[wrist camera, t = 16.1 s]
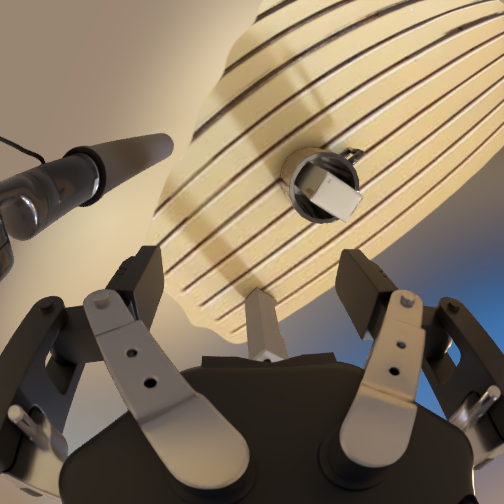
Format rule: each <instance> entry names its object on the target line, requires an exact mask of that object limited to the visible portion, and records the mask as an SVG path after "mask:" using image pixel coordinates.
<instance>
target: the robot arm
mask: <svg viewBox="0 0 504 504" xmlns="http://www.w3.org/2000/svg"><path fill="white" fill-rule="evenodd" d="M0 141H1V142H3V143H5V144H7V145H10V146H12V147H14V148H16V149H17V150H19V151H21V152H23V153H25V154H27V155H29V156H32V157H35V158H36V159H38V160H39V161H40V162H41V165H40V166H38V167H35V168H32V169H30V170H27V171H24V172H22V173H19V174H16V175H14V176H12V177H9V178H7V179H5V180H3V181H0V282H1V281H2V280H3V279H4V278H5V277H6V276H7V274H8V273H9V272H10V270H11V268H12V266H13V263H14V256H13V251H12V247H11V244H10V241H9V238H8V235H10V236H11V237H12V238H14V239H17V240H20V241H25V240H29V239H31V238H33V237H34V236H36V235H37V234H38V233H40V232H41V231H42V230H44V229H45V228H46V227H48V226H49V225H50V224H52V223H53V222H55V221H56V220H58V219H59V218H60V217H62V216H63V215H65V214H66V213H68V212H69V211H71V210H72V209H73V208H75V207H77V206H78V205H80V204H82V203H83V202H85V201H87V200H89V199H90V198H92V197H93V196H94V195H95V194H96V192H97V190H98V188H99V185H100V170H99V167H98V165H97V163H96V161H95V160H94V159H93V158H92V157H91V156H89V155H87V154H84V153H77V154H73V155H71V156H68V157H65V158H62V159H59V160H55V161H53V162H49V163H45V160H44V158H43V157H42V156H41V155H39V154H37V153H35V152H32V151H30V150H27V149H25V148H23V147H22V146H20V145H18V144H16V143H14V142H12V141H10V140H7V139H5V138H3V137H1V136H0ZM335 287H336V292H337V294H338V296H339V298H340V300H341V302H342V303H343V305H344V307H345V309H346V311H347V313H348V314H349V316H350V318H351V320H352V322H353V324H354V326H355V328H356V330H357V332H358V334H359V336H360V338H361V339H362V340H370V339H373V340H374V342H373V345H372V347H371V349H370V352H369V355H368V357H367V360H366V362H365V364H364V367H363V369H361V368H360V367H357V366H354V365H352V364H348V363H343V362H337V361H336V358H335V356H334V353H333V352H331V353H320V354H307V355H301V356H296V357H293V358H289V359H285V360H281V361H277V362H262V361H256V360H251V359H245V358H240V357H215V356H202V365H201V366H198V367H193V368H190V369H186V370H184V371H181V372H179V371H178V370H177V368H176V367H175V366H174V365H173V363H172V362H171V361H170V359H169V358H168V357H167V355H166V354H165V353H164V351H163V350H162V349H161V347H160V346H159V345H158V343H157V342H156V340H155V339H154V338H153V336H152V335H151V333H150V332H149V331H150V327H151V325H152V322H153V319H154V316H155V313H156V310H157V307H158V304H159V302H160V299H161V296H162V293H163V289H164V274H163V266H162V257H161V249H160V247H159V246H142V247H141V249H140V250H139V252H138V253H137V254H136V256H131V257H130V258H128V259H126V260H125V261H123V262H122V264H121V265H120V267H119V270H117V271H116V273H115V275H114V276H113V277H112V279H111V280H110V282H109V283H108V285H107V286H106V288H105V289H102V290H98V291H95V292H93V293H91V294H89V295H88V296H87V297H86V298H85V299H84V301H83V305H82V306H75V307H68V308H65V305H64V302H63V300H62V299H61V298H60V297H57V296H49V297H45V298H43V299H41V300H39V301H38V302H37V303H36V304H34V306H33V307H32V308H31V310H30V311H29V313H28V314H27V315H26V317H25V318H24V319H23V321H22V322H21V324H20V325H19V327H18V328H17V330H16V331H15V333H14V334H13V336H12V338H11V339H10V340H9V342H8V344H7V345H6V347H5V349H4V350H3V352H2V353H1V355H0V477H1V478H2V479H4V480H5V481H7V482H8V483H10V484H11V485H13V486H15V487H17V488H19V489H21V490H23V491H24V492H26V493H28V494H29V495H32V496H37V497H38V496H43V495H44V496H47V497H49V498H52V499H54V500H57V501H59V502H62V504H479V503H478V501H477V499H476V496H475V491H474V481H473V470H480V469H482V468H483V467H485V466H486V465H487V464H488V463H490V462H491V461H493V460H494V459H495V458H496V457H497V456H499V455H500V454H501V453H503V452H504V354H503V353H502V352H501V350H500V349H499V348H498V346H497V345H496V344H495V342H494V341H493V340H492V339H491V337H490V336H489V335H488V333H487V332H486V331H485V330H484V328H483V327H482V326H481V325H480V324H479V322H478V321H477V320H476V319H475V318H474V316H473V315H472V314H471V313H470V312H469V310H468V309H467V308H466V307H465V306H464V305H463V304H462V303H461V302H459V301H458V300H456V299H453V298H450V297H443V298H441V299H440V301H439V303H438V306H437V308H435V307H429V306H423V301H422V300H421V299H420V298H419V297H418V296H417V295H416V294H414V293H412V292H409V291H405V290H399V289H398V288H397V287H396V286H395V285H394V283H393V282H392V281H391V280H390V279H389V278H387V275H386V274H385V273H383V270H382V269H381V268H380V267H379V266H378V265H377V264H375V263H374V262H372V261H370V260H369V259H368V258H367V257H366V256H365V255H364V254H363V253H362V252H361V250H359V249H344V250H343V251H342V253H341V257H340V262H339V267H338V271H337V276H336V282H335ZM453 341H454V343H455V344H456V346H457V347H458V349H459V350H460V353H461V359H460V362H459V364H458V365H457V367H456V366H455V364H454V362H453V361H452V359H451V357H450V356H449V354H448V353H447V351H448V349H449V347H450V345H451V344H452V342H453ZM49 351H50V353H51V355H52V356H51V358H50V360H49V362H48V364H47V366H46V368H45V360H46V357H47V355H48V353H49ZM97 361H104V362H105V364H106V367H107V369H108V371H109V373H110V375H111V377H112V379H113V381H114V383H115V385H116V388H117V389H118V391H119V393H120V395H121V397H122V399H123V401H124V403H125V405H126V407H127V409H128V411H127V412H126V413H124V414H123V415H122V416H120V417H119V418H118V419H117V420H115V421H114V422H113V423H111V424H110V425H109V426H108V427H106V428H105V429H103V430H102V431H101V432H99V433H98V434H97V435H95V436H94V437H93V438H91V439H90V440H89V441H87V442H86V443H85V444H83V445H82V446H81V447H79V448H78V449H76V450H75V451H74V452H73V453H71V454H70V456H68V445H67V442H66V439H65V438H64V436H63V435H62V433H63V429H64V426H65V422H66V419H67V416H68V412H69V409H70V406H71V403H72V400H73V397H74V394H75V391H76V388H77V385H78V382H79V380H80V377H81V374H82V371H83V369H84V366H85V363H88V362H97ZM421 368H422V370H423V372H424V374H425V376H426V378H427V380H428V382H429V384H430V385H431V387H432V389H433V391H434V393H435V396H436V398H437V400H438V402H439V404H440V406H441V408H442V410H443V412H444V414H445V416H446V418H447V420H445V419H443V418H441V417H440V416H438V415H436V414H435V413H433V412H431V411H430V410H428V409H426V408H425V407H423V406H421V405H420V404H418V403H417V402H415V398H416V393H417V388H418V383H419V376H420V372H421Z"/></svg>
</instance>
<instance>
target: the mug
mask: <svg viewBox="0 0 504 504" xmlns="http://www.w3.org/2000/svg"><path fill="white" fill-rule="evenodd" d="M350 154H352V155H353V156H352V157H351V158H349V159H348V160H347V159H345V158H346V157H348V156H349V155H350ZM364 155H365V153H364V151H363V150H359V149H356V148H352V147H348V148H347V149H345V150H344V151H343V152H342V153H341V154H336V153H333V152H330V151H327V150H324V149H320V148H316V147H306V148H302V149H299V150H297V151H295V152H294V153H292V154H291V155H290V156H289V157H288V158H287V159H286V161H285V163H284V164H283V167H282V170H281V175H280V181H281V186H282V189H283V192H284V193H285V195H286V197H287V198H288V200H289V201H290V203H291V204H292V206H293V207H294V209H295V210H296V211H297V212H298V213H299V214H300V215H301V216H302V217H303V218H305V219H307V220H308V221H310V222H314V223H319V224H324V223H332V222H334V221H337V220H339V219H338V218H337V217H335V216H333V215H332V214H330V213H328V212H327V211H325V210H324V209H322V208H320V207H319V206H317V205H316V204H314V203H313V202H312V201H310V199H309V198H308V197H307V196H306V195H305V194H304V193H303V192H302V191H301V190H300V189H298V188H297V187H296V186H295V181H296V177H297V175H298V174H299V172H300V170H301V169H302V167H304V166H305V165H306V164H307V163H308V162H311V163H313V164H315V165H317V166H318V167H320V168H322V169H324V170H326V171H328V172H329V173H331V174H332V175H334V176H335V177H337V178H338V179H340V180H341V181H343V182H344V183H346V184H347V185H349V186H350V187H351V188H353V189H354V190H355V191H357V192H358V193H359V179H358V176H357V172H356V170H355V168H354V167H353V165H354V164H355V163H356V162H358V161H359V160H360V159H361V158H362V157H363V156H364Z"/></svg>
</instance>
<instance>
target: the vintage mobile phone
mask: <svg viewBox="0 0 504 504" xmlns="http://www.w3.org/2000/svg"><path fill="white" fill-rule="evenodd" d="M276 303H277V301H276V299H274V298H272V297H271V296H269V295H268V294H266V293H265V292H263V291H262V290H260V289H258V288H256V289H255V290H254V291H253V292H252V293H251V294H250V295H249V296H248V297H247V298H246V300H245V311H246V325H247V339H248V352H249V359H251V360H256V361H262V362H277V361H281V360H285V359H289V356H288V353H287V349H286V346H285V343H284V339H283V338H282V336H281V334H280V330H279V325H278V321H277V316H276V311H275V305H276Z"/></svg>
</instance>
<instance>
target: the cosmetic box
mask: <svg viewBox="0 0 504 504" xmlns="http://www.w3.org/2000/svg"><path fill="white" fill-rule="evenodd" d="M295 186H296V187H297V188H298V189H300V190H301V191H302V192H303V193H304V194H305V195H306V196H307V197H308V198H309V199H310V201H312V202H313V203H314V204H316V205H317V206H319V207H320V208H322V209H324V210H325V211H327V212H328V213H330V214H332V215H333V216H335V217H337V218H338V219H340V220H342V221H344V222H347V220H348V219H349V218H350V216H351V215H352V213H353V212H354V211H355V209H356V208H357V206H358V205H359V203H360V202H361V200H362V199H363V196H362V195H361V194H359V193H358V192H357V191H355V190H354V189H353V188H351V187H350V186H349V185H347V184H346V183H344V182H343V181H341V180H340V179H338V178H337V177H335V176H334V175H332V174H331V173H329V172H328V171H326V170H324V169H322V168H320V167H318V166H317V165H315V164H313V163H311V162H308V163H307V164H306V165H305V166H304V167H302V169H301V170H300V172H299V174H298V175H297V177H296V181H295Z"/></svg>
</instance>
